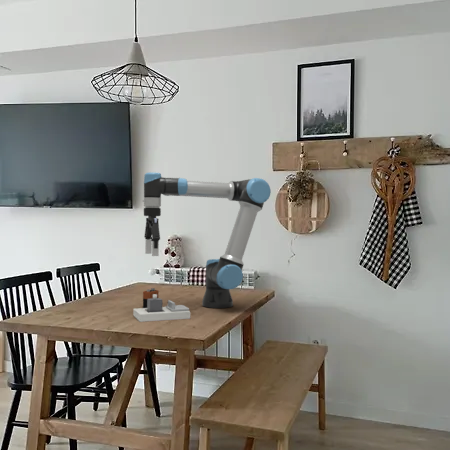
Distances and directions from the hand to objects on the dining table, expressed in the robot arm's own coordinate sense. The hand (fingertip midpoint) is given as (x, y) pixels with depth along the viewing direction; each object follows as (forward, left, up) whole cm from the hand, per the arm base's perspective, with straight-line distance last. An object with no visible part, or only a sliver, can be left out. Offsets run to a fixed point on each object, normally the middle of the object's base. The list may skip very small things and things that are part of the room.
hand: (151, 254), depth 231 cm
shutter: (-10, +7, -23) cm, 26 cm away
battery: (-2, -10, -27) cm, 29 cm away
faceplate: (-3, +7, -27) cm, 28 cm away
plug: (0, +7, -27) cm, 28 cm away
